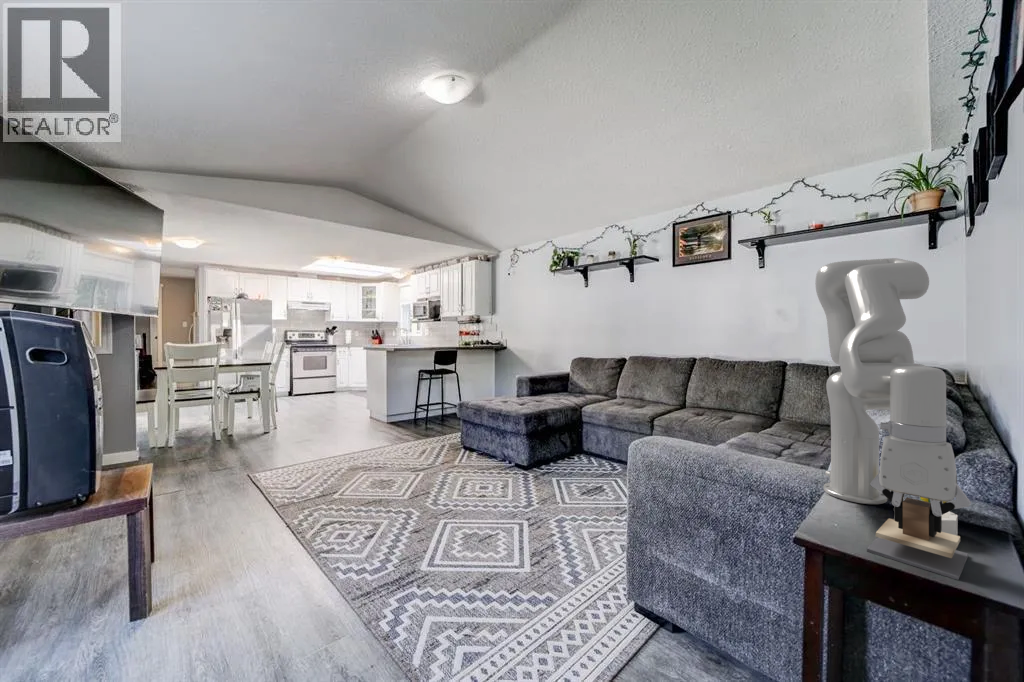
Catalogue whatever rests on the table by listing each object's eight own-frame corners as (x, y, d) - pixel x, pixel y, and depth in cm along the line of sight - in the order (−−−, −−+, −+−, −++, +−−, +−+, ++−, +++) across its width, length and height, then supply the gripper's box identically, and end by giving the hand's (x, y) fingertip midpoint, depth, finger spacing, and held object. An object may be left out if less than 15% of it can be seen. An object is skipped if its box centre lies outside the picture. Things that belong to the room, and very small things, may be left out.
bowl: (884, 521, 92) (884, 501, 92) (928, 522, 91) (928, 502, 91) (921, 542, 83) (921, 519, 83) (970, 543, 82) (970, 520, 82)
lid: (875, 536, 79) (875, 500, 79) (888, 522, 86) (888, 488, 85) (951, 558, 72) (951, 518, 71) (960, 540, 78) (960, 504, 78)
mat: (866, 551, 80) (866, 548, 80) (883, 532, 87) (883, 530, 87) (958, 580, 70) (958, 577, 70) (968, 556, 78) (968, 553, 78)
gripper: (855, 428, 83) (855, 521, 83) (981, 444, 70) (981, 555, 70) (866, 423, 87) (866, 511, 87) (986, 437, 74) (986, 541, 74)
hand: (917, 529), depth 79 cm, fingers closed on lid, 3 cm apart
